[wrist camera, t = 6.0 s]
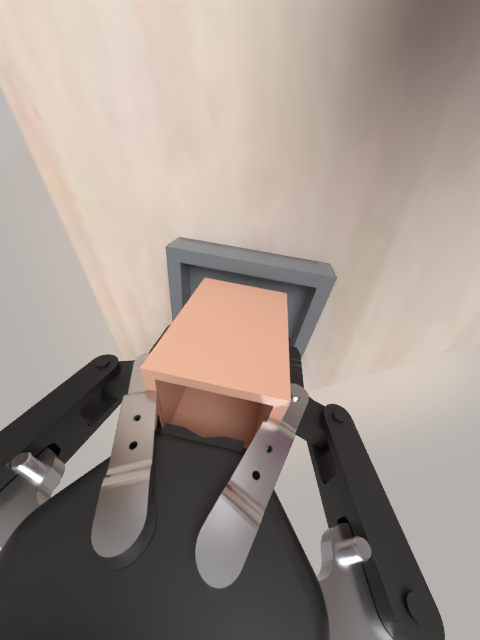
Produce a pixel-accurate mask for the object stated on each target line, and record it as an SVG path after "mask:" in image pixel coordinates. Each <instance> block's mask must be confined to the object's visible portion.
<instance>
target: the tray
mask: <svg viewBox="0 0 480 640" xmlns="http://www.w3.org/2000/svg"><path fill="white" fill-rule="evenodd" d="M166 255H167V266H168V277H169V288H170V298H171V309H172V320H173V321H174V320H175V318H176V317H177V315H178V314H179V313H180V311H181V310H182V309H183V307H184V306H185V304H186V303H187V302H188V300H189V299H190V297H191V296H192V295H193V293H194V292H195V291H196V289H197V288H198V286H199V285H200V284H201V282H202V281H203V279H204V278H210V279H215V280H220V281H225V282H231V283H236V284H241V285H246V286H252V287H257V288H262V289H267V290H272V291H278V292H283V293H287V312H288V337H289V338H290V345H291V346H293V347H297V349H298V350H299V352H300V355H301V358H302V355H303V353H304V351H305V349H306V346H307V344H308V342H309V340H310V337H311V335H312V333H313V331H314V328H315V326H316V324H317V322H318V319H319V317H320V315H321V313H322V310H323V308H324V306H325V304H326V301H327V299H328V297H329V295H330V292H331V290H332V288H333V286H334V283H335V281H336V279H337V276H336V274H335V272H334V270H333V269H332V267H331V265H330V264H328V263H322V262H316V261H311V260H305V259H300V258H294V257H289V256H283V255H277V254H272V253H266V252H261V251H255V250H250V249H244V248H238V247H233V246H227V245H222V244H216V243H210V242H205V241H199V240H194V239H188V238H183V237H179V238H177V239H176V240H174V241H173V242H171V243H170V244H168V245H167V246H166Z"/></svg>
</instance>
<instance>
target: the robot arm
mask: <svg viewBox="0 0 480 640" xmlns="http://www.w3.org/2000/svg"><path fill="white" fill-rule="evenodd" d="M169 327H170V325H169V326H168V327H167V328H166V330H165V331H164V332H163V334H162V335H161V337H160V338H159V339H158V341H157V342H156V343H155V345H154V346H153V348H152V349H151V350H150V352H149V353H146V354H143V355H141V356H139V357H138V358H137V359H136V360H134V361H118V358H117V357H116V356H114V355H102V356H99V357H97V358H95V359H93V360H92V361H91V362H90V363H88V364H87V365H86V366H84V367H83V368H82V369H80V370H79V371H78V372H77V373H75V374H74V375H73V376H71V377H70V378H69V379H68V380H66V381H65V382H64V383H62V384H61V385H60V386H58V387H57V388H56V389H55V390H53V391H52V392H51V393H49V394H48V395H47V396H46V397H44V398H43V399H42V400H40V401H39V402H38V403H37V404H35V405H34V406H33V407H31V408H30V409H29V410H27V411H26V412H25V413H24V414H23V415H21V416H20V417H18V418H17V419H16V420H15V421H13V422H12V423H11V424H9V425H8V426H7V427H5V428H4V429H3V430H2V431H0V547H2V550H1V551H0V640H445V633H444V627H443V622H442V619H441V616H440V613H439V611H438V608H437V606H436V604H435V602H434V599H433V597H432V595H431V593H430V591H429V588H428V586H427V584H426V582H425V579H424V577H423V575H422V573H421V571H420V568H419V566H418V564H417V562H416V560H415V557H414V555H413V553H412V551H411V548H410V546H409V544H408V542H407V540H406V537H405V535H404V533H403V531H402V528H401V526H400V524H399V522H398V520H397V518H396V515H395V513H394V511H393V509H392V506H391V505H390V502H389V500H388V498H387V495H386V493H385V491H384V489H383V486H382V484H381V482H380V480H379V478H378V475H377V473H376V471H375V469H374V466H373V464H372V462H371V460H370V458H369V455H368V453H367V451H366V449H365V447H364V444H363V442H362V440H361V438H360V435H359V433H358V431H357V429H356V427H355V424H354V422H353V420H352V418H351V416H350V415H349V413H348V412H347V411H346V410H345V409H344V408H342V407H341V406H339V405H336V404H329V405H327V406H326V407H325V406H323V405H321V404H320V403H318V402H316V401H314V400H313V399H311V398H310V397H309V396H308V393H307V392H306V390H305V389H304V385H303V375H302V367H301V366H302V365H301V355H300V352H299V350H298V349H297V347H293V346H291V345H290V338H289V337H288V339H289V365H290V392H291V402H290V404H289V406H288V408H287V410H286V412H285V414H284V416H283V418H282V420H281V422H280V423H279V422H278V421H276V420H274V419H273V418H271V417H269V416H268V415H267V416H266V418H265V419H264V421H263V423H262V425H261V426H260V428H259V430H258V432H257V433H256V435H255V437H254V439H253V440H252V442H251V444H250V446H249V447H248V449H246V448H244V442H245V441H241V440H237V439H233V438H228V437H206V438H204V437H201V436H199V435H197V434H196V433H194V432H192V431H190V430H189V429H187V428H185V427H182V426H177V425H173V424H169V423H164V418H163V413H162V408H161V403H160V398H159V393H158V390H157V391H149V392H146V391H145V387H144V383H143V379H142V375H141V371H140V367H141V365H142V364H143V363H144V361H145V360H146V358H147V357H148V356H149V354H150V353H151V351H152V350H153V349H154V347H155V346H156V345H157V343H158V342H159V340H160V339H161V338H162V336H163V335H164V333H165V332H166V331H167V329H168V328H169ZM121 403H122V405H121V409H120V414H119V419H118V424H117V429H116V433H115V438H114V444H113V448H112V453H111V456H110V457H109V458H108V459H106V460H105V461H103V462H102V463H100V464H99V465H97V466H96V467H95V468H93V469H92V470H90V471H89V472H88V473H86V474H84V475H83V476H82V477H80V478H79V479H77V480H76V481H75V482H73V483H72V484H70V485H69V486H67V487H66V488H64V489H63V490H61V491H60V492H59V493H57V494H56V495H54V496H53V497H51V494H52V492H53V490H54V489H55V488H56V487H57V486H58V485H59V483H60V480H61V478H62V476H63V474H64V471H65V463H66V462H67V461H68V460H69V459H70V458H71V457H72V456H73V455H74V454H75V453H76V451H77V450H78V449H79V448H80V447H81V446H82V445H83V444H84V443H85V442H86V441H87V440H88V438H89V437H90V436H91V435H92V434H93V433H94V432H95V431H96V430H97V429H98V428H99V427H100V425H101V424H102V423H103V422H104V421H105V420H106V419H107V418H108V417H109V416H110V415H111V413H112V412H113V411H114V410H115V409H116V408H117V407H118V406H119V405H120V404H121ZM295 435H297V436H299V437H301V438H302V439H304V440H306V441H307V444H308V448H309V452H310V456H311V460H312V464H313V468H314V472H315V476H316V480H317V484H318V488H319V492H320V496H321V500H322V504H323V507H324V511H325V515H326V519H327V523H328V527H329V529H328V530H326V531H325V532H324V534H323V536H322V539H321V553H322V566H321V570H320V573H319V575H318V577H316V575H315V573H314V571H313V568H312V567H311V565H310V562H309V561H308V558H307V556H306V554H305V552H304V550H303V548H302V546H301V544H300V542H299V540H298V538H297V536H296V534H295V532H294V529H293V527H292V525H291V523H290V521H289V519H288V517H287V515H286V513H285V511H284V509H283V507H282V505H281V503H280V501H279V499H278V496H277V494H276V492H275V491H274V487H275V485H276V482H277V480H278V477H279V475H280V472H281V470H282V467H283V465H284V463H285V460H286V458H287V455H288V453H289V450H290V448H291V446H292V443H293V441H294V438H295ZM50 497H51V498H50Z"/></svg>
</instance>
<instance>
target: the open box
mask: <svg viewBox="0 0 480 640" xmlns="http://www.w3.org/2000/svg"><path fill="white" fill-rule="evenodd" d="M140 371H141V375H142V379H143V383H144V387H145V391H146V392H149V391H157V390H158V393H159V398H160V403H161V408H162V413H163V418H164V423H169V424H173V425H177V426H182V427H185V428H187V429H189V430H190V431H192V432H194V433H196V434H197V435H199V436H201V437H204V438H206V437H228V438H233V439H237V440H241V441H245V442H244V448H246V449H248V447H249V446H250V444H251V442H252V440H253V439H254V437H255V435H256V433H257V432H258V430H259V428H260V426H261V425H262V423H263V421H264V419H265V418H266V416H267V415H268V416H269V417H271V418H273V419H274V420H276V421H278V422H279V423H280V422H281V420H282V418H283V416H284V414H285V412H286V410H287V408H288V406H289V404H290V402H291V392H290V365H289V339H288V312H287V293H283V292H278V291H272V290H267V289H262V288H257V287H252V286H246V285H241V284H236V283H231V282H225V281H220V280H215V279H210V278H204V279H203V281H202V282H201V284H200V285H199V286H198V288H197V289H196V291H195V292H194V293H193V295H192V296H191V297H190V299H189V300H188V302H187V303H186V304H185V306H184V307H183V309H182V310H181V311H180V313H179V314H178V315H177V317H176V318H175V320H174V321H173V322H172V324H171V325H170V327H169V328H168V329H167V331H166V332H165V333H164V335H163V336H162V338H161V339H160V340H159V342H158V343H157V345H156V346H155V347H154V349H153V350H152V351H151V353H150V354H149V356H148V357H147V358H146V360H145V361H144V363H143V364H142V365H141V367H140Z"/></svg>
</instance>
